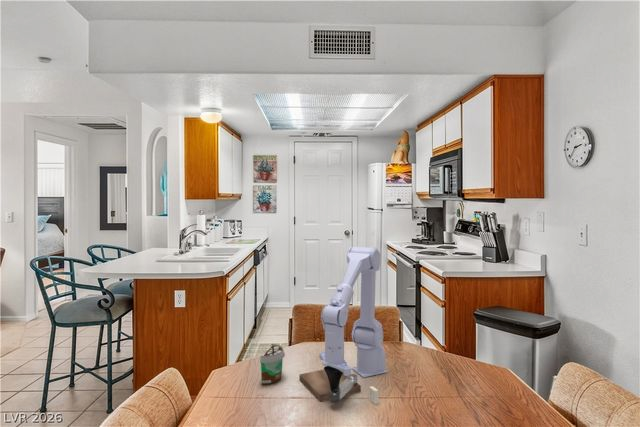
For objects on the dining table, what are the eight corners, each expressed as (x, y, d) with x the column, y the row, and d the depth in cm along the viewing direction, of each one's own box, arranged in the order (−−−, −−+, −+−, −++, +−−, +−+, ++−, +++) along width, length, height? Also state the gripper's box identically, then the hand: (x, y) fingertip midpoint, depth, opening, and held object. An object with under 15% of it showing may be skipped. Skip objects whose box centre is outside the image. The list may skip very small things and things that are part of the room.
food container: (278, 389, 131) (278, 357, 130) (260, 387, 132) (259, 356, 132) (289, 372, 143) (289, 344, 142) (272, 371, 144) (272, 343, 144)
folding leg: (349, 380, 132) (349, 373, 131) (358, 382, 130) (358, 375, 130) (327, 401, 118) (327, 392, 118) (337, 403, 117) (337, 395, 117)
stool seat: (336, 372, 143) (336, 366, 143) (360, 391, 128) (360, 385, 128) (299, 380, 137) (299, 374, 137) (320, 401, 122) (320, 395, 122)
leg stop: (372, 399, 124) (372, 386, 124) (378, 403, 121) (378, 390, 121) (369, 400, 123) (369, 386, 123) (374, 404, 121) (374, 391, 121)
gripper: (310, 340, 127) (311, 384, 128) (336, 356, 115) (336, 404, 115) (330, 336, 131) (330, 378, 131) (357, 351, 118) (357, 397, 119)
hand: (334, 390), depth 124 cm, fingers closed, pressing on folding leg
